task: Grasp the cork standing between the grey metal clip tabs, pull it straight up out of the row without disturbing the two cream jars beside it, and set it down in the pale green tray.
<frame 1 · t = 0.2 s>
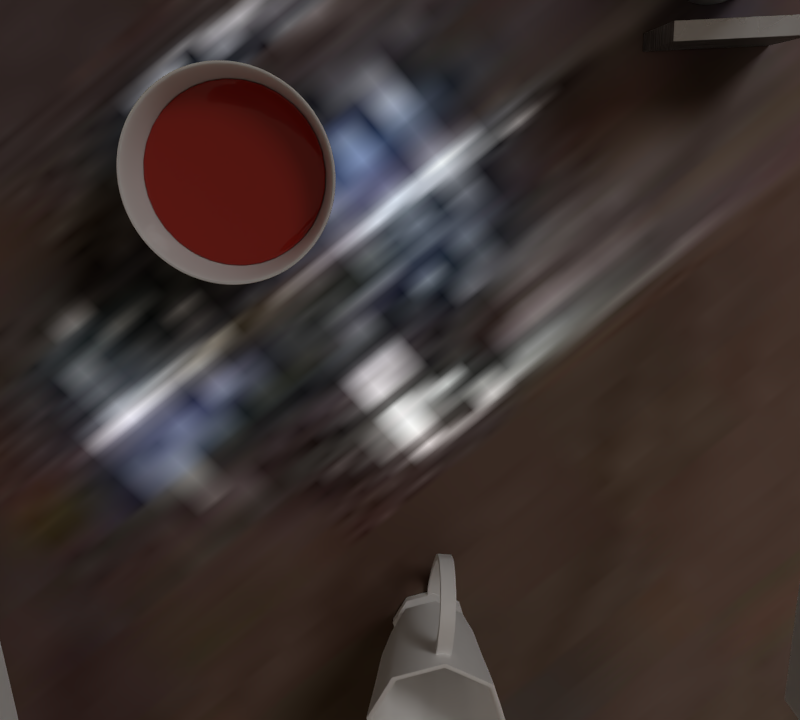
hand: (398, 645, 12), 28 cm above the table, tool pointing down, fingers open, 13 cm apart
cup: (432, 598, 44), on the table
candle: (254, 170, 37), on the table
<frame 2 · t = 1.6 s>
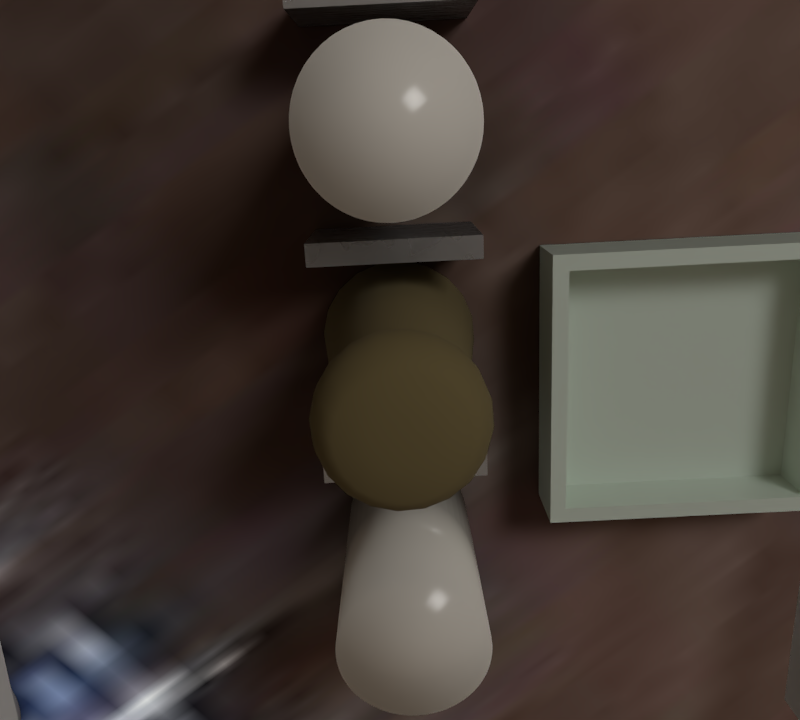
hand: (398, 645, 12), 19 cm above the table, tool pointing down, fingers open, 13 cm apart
clip holder: (399, 335, 30), on the table
cork: (398, 334, 30), on the table
tray: (669, 369, 31), on the table
cream jar A: (388, 127, 28), on the table
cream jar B: (408, 513, 32), on the table
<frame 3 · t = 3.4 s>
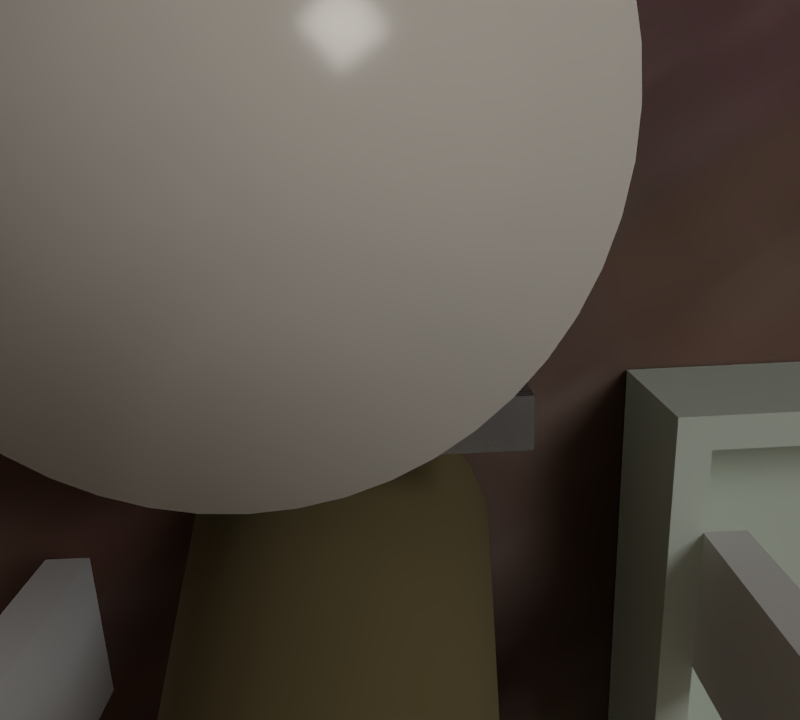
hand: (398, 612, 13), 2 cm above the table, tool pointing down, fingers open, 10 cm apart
clip holder: (343, 540, 15), on the table
cork: (343, 534, 15), on the table
cream jar A: (315, 128, 13), on the table
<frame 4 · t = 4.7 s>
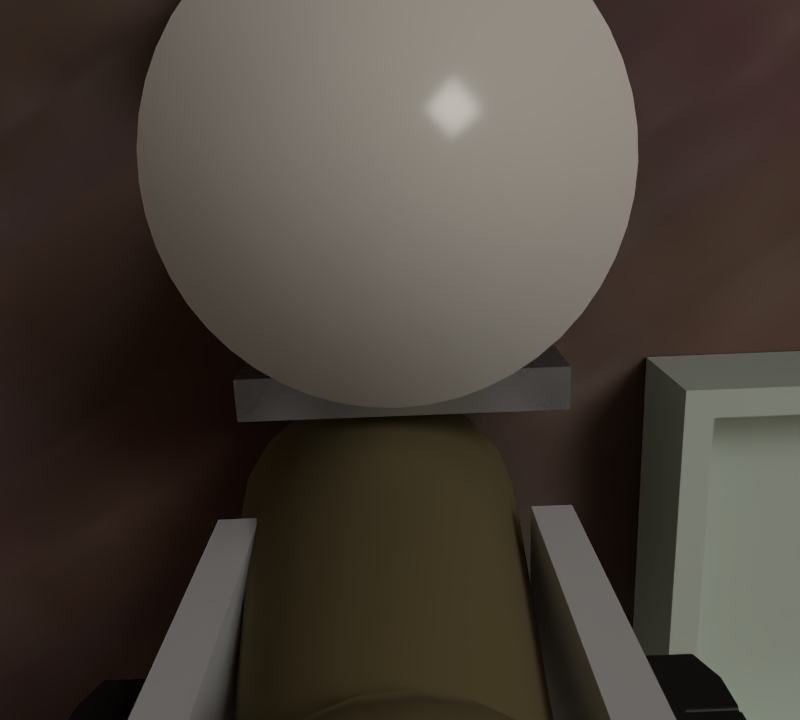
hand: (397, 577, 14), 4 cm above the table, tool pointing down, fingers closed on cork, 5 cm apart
clip holder: (408, 497, 18), on the table
cork: (380, 516, 17), point 2 cm above the table, touching gripper
cream jar A: (394, 160, 16), on the table
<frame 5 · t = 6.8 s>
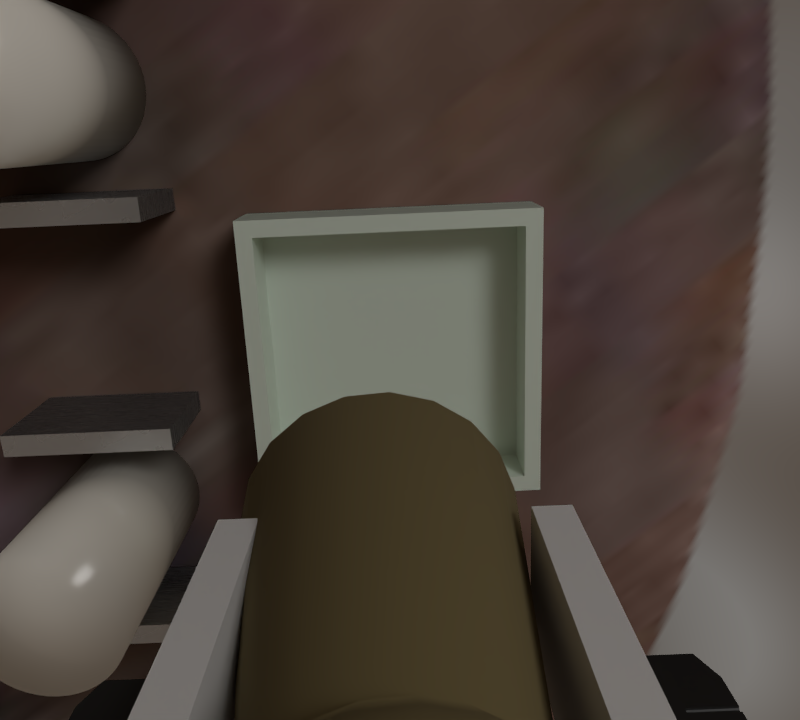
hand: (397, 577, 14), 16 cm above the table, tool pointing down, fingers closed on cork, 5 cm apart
clip holder: (110, 307, 29), on the table
cork: (380, 518, 17), point 14 cm above the table, touching gripper
tray: (394, 344, 30), on the table
cream jar A: (75, 89, 27), on the table
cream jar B: (139, 493, 31), on the table
when the fingers open (3 cm above the table, at t = 9.0 s): cork stays where it is, resting on tray.
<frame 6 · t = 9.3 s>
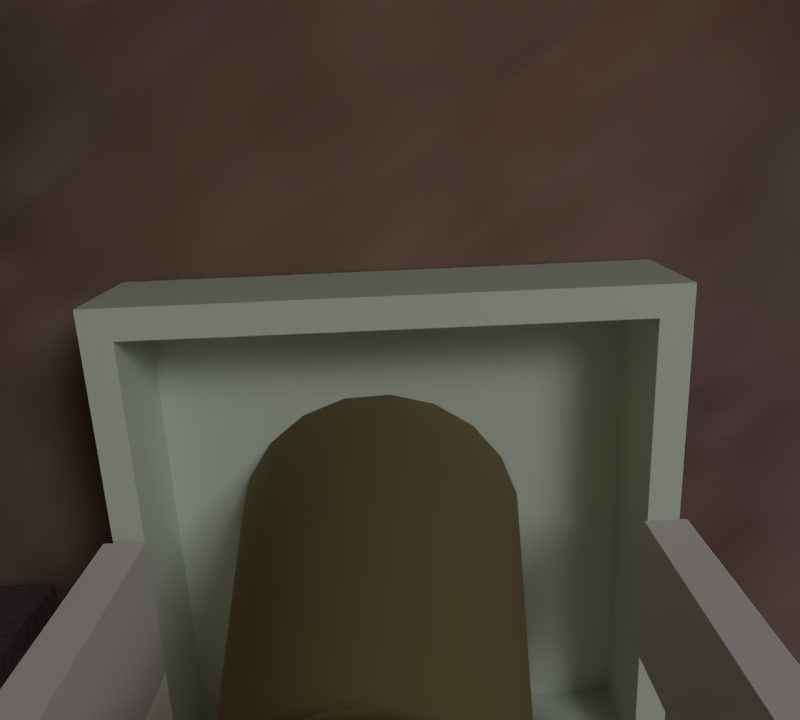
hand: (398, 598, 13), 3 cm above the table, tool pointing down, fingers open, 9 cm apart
cork: (381, 520, 16), resting on tray
tray: (397, 507, 17), on the table
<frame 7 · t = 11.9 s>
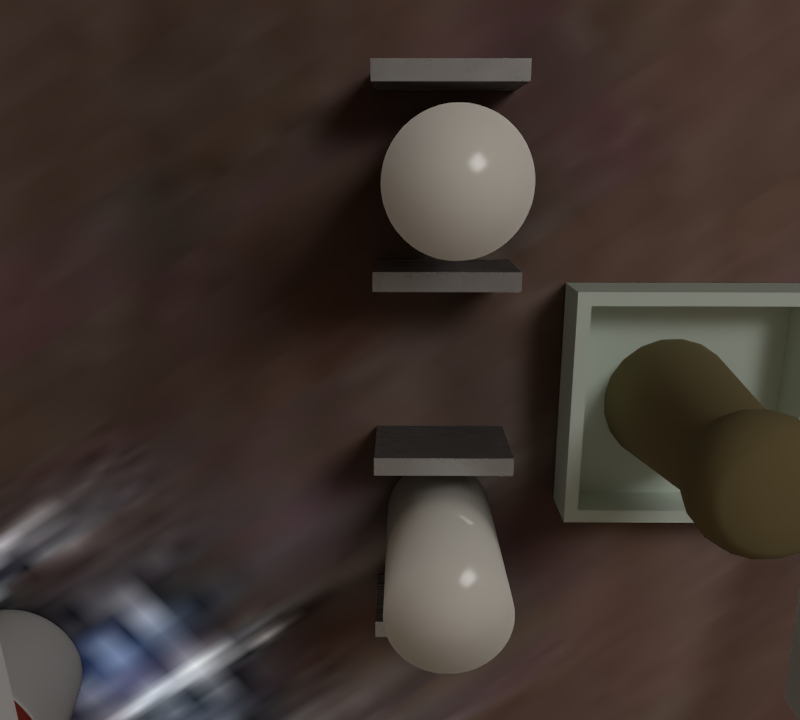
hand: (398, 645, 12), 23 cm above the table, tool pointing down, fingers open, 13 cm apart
clip holder: (440, 353, 35), on the table
cork: (666, 400, 35), resting on tray
tray: (672, 395, 35), on the table
cream jar A: (443, 177, 33), on the table
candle: (21, 661, 40), on the table
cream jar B: (438, 509, 37), on the table
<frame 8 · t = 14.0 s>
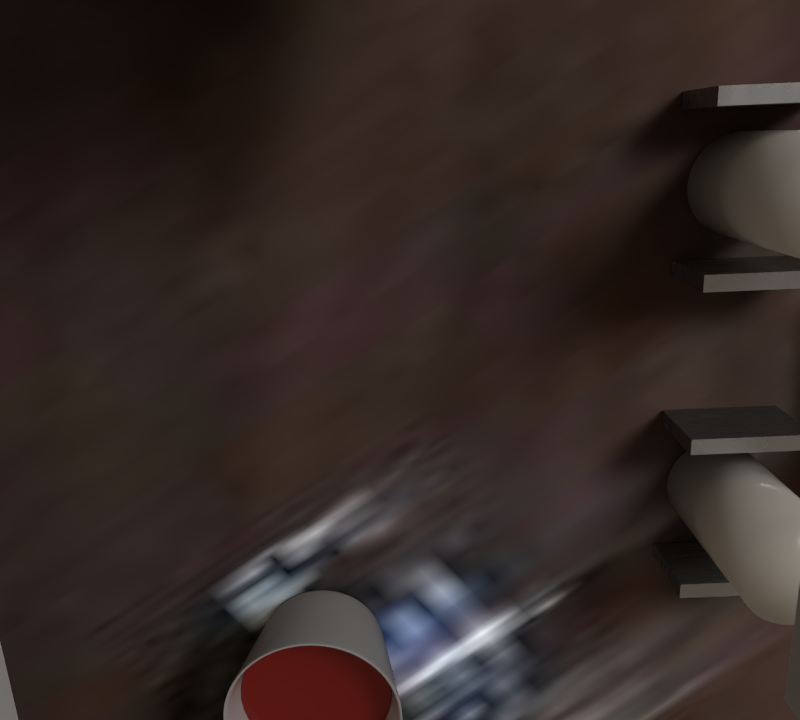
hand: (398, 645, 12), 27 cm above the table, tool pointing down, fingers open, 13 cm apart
clip holder: (724, 342, 39), on the table
cream jar A: (738, 184, 36), on the table
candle: (324, 636, 44), on the table
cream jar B: (712, 482, 41), on the table
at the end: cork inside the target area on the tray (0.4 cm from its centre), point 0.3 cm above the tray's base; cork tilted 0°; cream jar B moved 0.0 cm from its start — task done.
